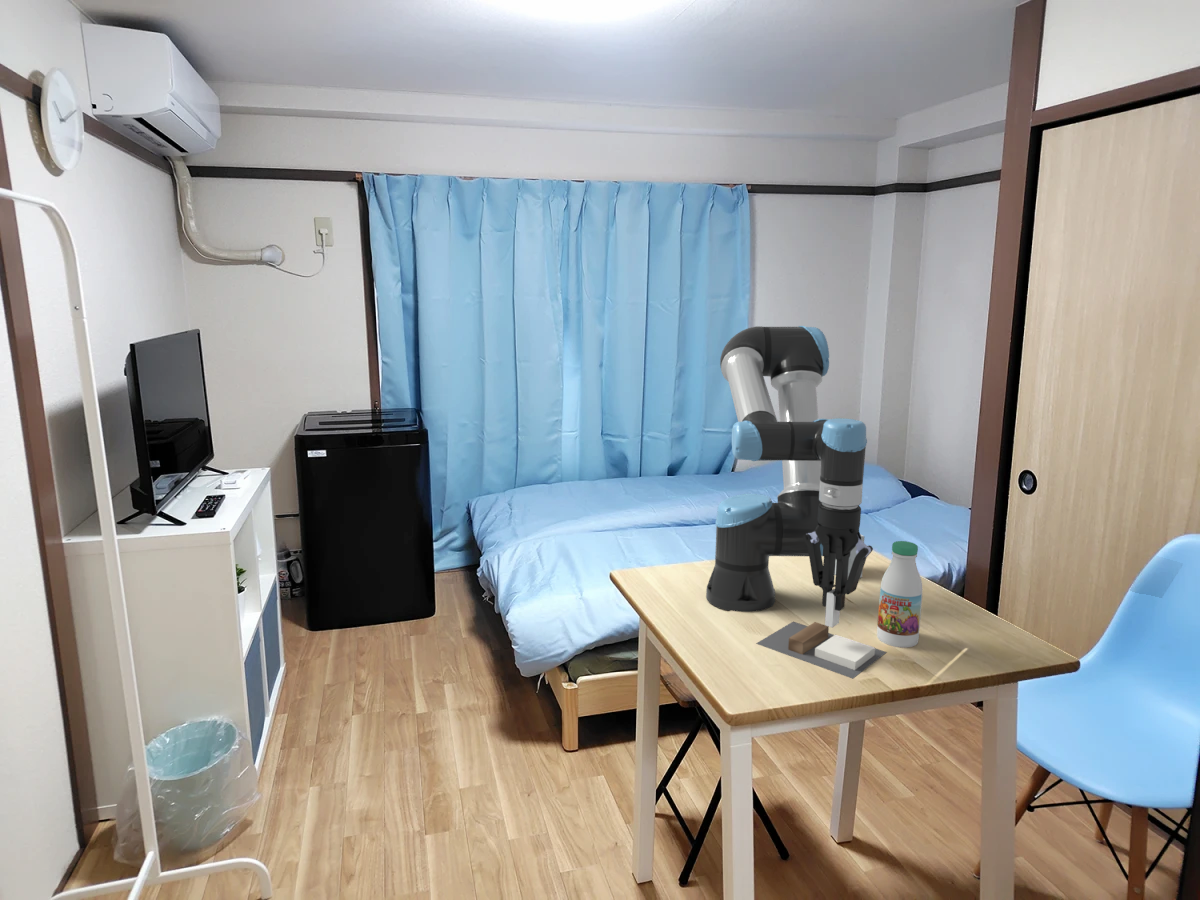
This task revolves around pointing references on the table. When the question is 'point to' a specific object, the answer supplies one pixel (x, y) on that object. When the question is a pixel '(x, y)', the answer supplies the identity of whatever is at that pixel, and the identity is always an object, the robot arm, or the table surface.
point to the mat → (811, 651)
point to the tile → (845, 652)
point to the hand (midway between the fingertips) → (831, 624)
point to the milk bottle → (900, 598)
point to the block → (808, 638)
